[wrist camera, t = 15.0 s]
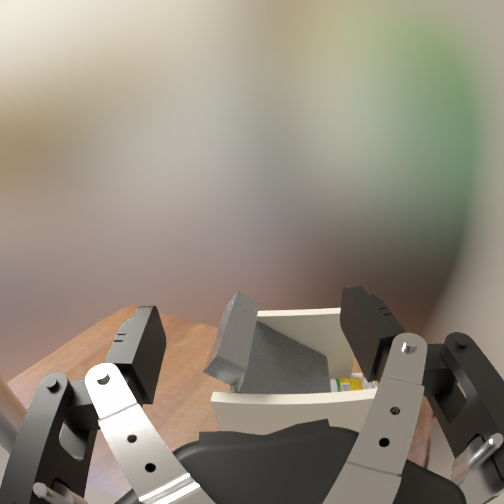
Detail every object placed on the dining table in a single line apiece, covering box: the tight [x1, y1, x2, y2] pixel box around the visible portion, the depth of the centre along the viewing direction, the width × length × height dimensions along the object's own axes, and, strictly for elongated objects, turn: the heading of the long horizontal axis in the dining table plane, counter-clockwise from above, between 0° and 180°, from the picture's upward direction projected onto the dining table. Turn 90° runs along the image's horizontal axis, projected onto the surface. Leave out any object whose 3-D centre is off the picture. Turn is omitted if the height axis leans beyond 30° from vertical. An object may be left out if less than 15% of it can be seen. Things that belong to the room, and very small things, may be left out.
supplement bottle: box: [330, 377, 379, 392], centre depth 32 cm, size 5×5×10 cm
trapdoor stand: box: [211, 308, 378, 435], centre depth 31 cm, size 18×15×14 cm
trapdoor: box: [203, 291, 331, 394], centre depth 30 cm, size 16×12×4 cm
